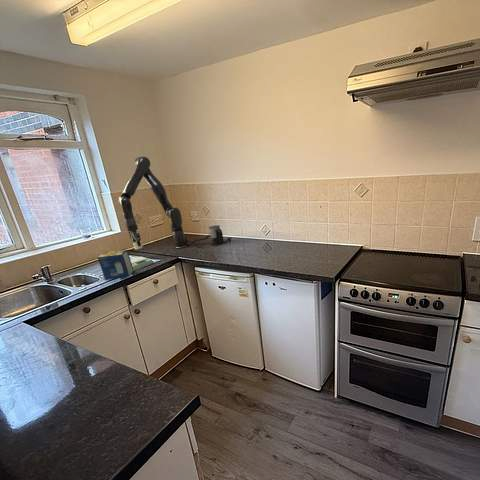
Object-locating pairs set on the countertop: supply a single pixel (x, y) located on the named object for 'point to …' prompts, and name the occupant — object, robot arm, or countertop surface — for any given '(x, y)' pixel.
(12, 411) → the countertop surface
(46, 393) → the countertop surface
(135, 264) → the scale
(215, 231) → the milk frother
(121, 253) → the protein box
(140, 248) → the beige cup
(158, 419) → the countertop surface
